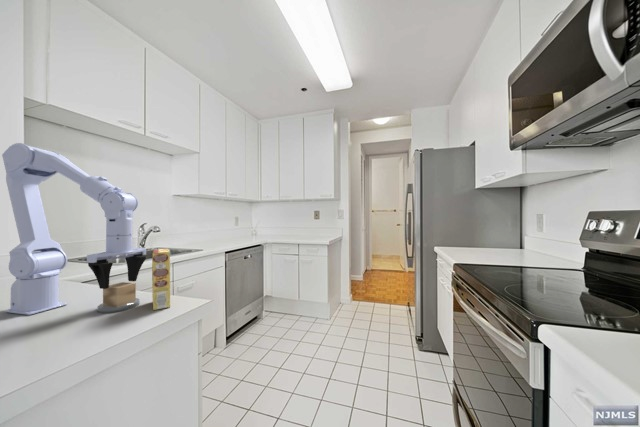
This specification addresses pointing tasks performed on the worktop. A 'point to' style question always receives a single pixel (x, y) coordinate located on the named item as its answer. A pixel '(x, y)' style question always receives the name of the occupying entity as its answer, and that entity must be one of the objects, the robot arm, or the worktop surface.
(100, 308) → the slate coaster
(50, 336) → the worktop surface
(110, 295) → the oak cube
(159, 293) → the candy box
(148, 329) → the worktop surface
